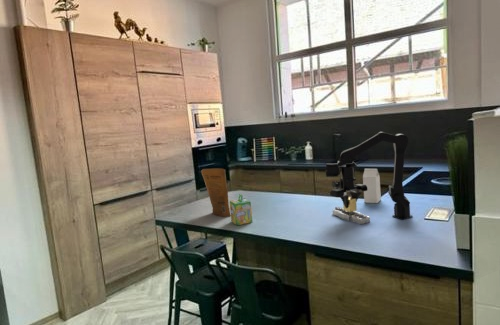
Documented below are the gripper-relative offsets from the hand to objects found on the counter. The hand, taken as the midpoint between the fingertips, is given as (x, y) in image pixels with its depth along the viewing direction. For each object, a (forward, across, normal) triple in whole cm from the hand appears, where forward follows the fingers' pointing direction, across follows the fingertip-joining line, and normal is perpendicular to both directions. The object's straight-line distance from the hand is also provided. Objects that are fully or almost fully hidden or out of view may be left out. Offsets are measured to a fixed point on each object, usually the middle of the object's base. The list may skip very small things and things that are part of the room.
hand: (350, 207), depth 166 cm
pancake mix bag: (+6, +51, -54) cm, 74 cm away
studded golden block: (+2, 0, 0) cm, 2 cm away
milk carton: (+6, -28, -15) cm, 33 cm away
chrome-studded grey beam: (+6, 0, 0) cm, 6 cm away
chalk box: (+6, +46, -32) cm, 56 cm away
